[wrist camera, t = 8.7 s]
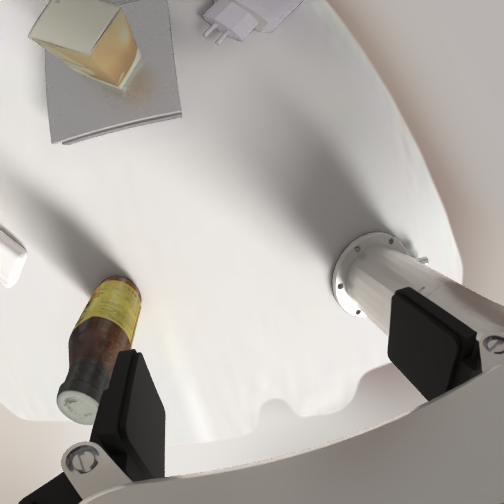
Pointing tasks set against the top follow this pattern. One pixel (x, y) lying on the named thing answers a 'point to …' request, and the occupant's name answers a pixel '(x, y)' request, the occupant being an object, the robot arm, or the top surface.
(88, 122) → the pan
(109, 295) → the sauce bottle
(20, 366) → the top surface
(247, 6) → the charger
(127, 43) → the skincare box
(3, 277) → the soap
